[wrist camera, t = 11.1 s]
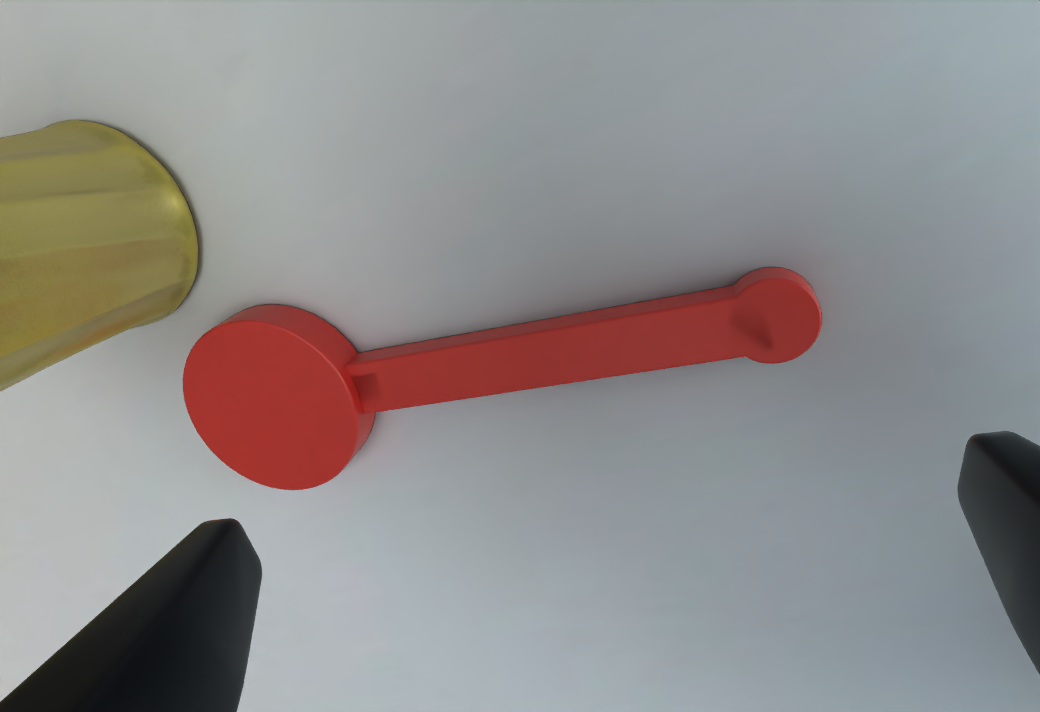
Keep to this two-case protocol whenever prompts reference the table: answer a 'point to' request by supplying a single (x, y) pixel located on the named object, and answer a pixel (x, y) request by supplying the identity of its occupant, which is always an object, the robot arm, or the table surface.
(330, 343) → the spoon
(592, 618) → the table surface
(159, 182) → the vase
